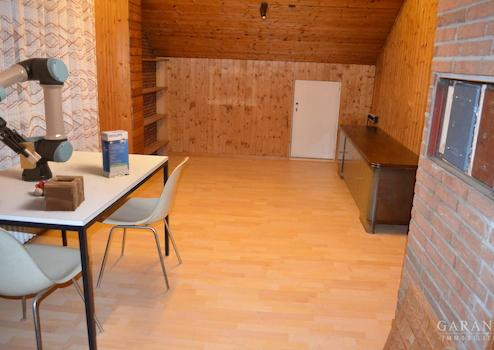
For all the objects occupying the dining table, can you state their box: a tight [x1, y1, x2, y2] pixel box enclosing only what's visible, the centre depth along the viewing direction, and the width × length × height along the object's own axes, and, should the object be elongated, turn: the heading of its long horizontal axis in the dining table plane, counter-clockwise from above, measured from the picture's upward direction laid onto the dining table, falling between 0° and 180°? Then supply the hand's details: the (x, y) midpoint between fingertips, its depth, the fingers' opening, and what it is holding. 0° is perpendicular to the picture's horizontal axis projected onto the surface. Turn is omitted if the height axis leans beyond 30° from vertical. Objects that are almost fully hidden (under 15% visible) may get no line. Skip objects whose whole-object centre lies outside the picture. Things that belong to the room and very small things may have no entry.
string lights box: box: [100, 129, 130, 179], centre depth 244 cm, size 13×8×26 cm, turn 137°
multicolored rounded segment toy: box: [33, 179, 49, 197], centre depth 207 cm, size 8×10×7 cm
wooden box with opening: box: [43, 174, 85, 212], centre depth 191 cm, size 16×12×12 cm
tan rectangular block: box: [19, 142, 36, 169], centre depth 184 cm, size 4×5×11 cm
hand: (37, 160), depth 185 cm, fingers closed on tan rectangular block, 3 cm apart
